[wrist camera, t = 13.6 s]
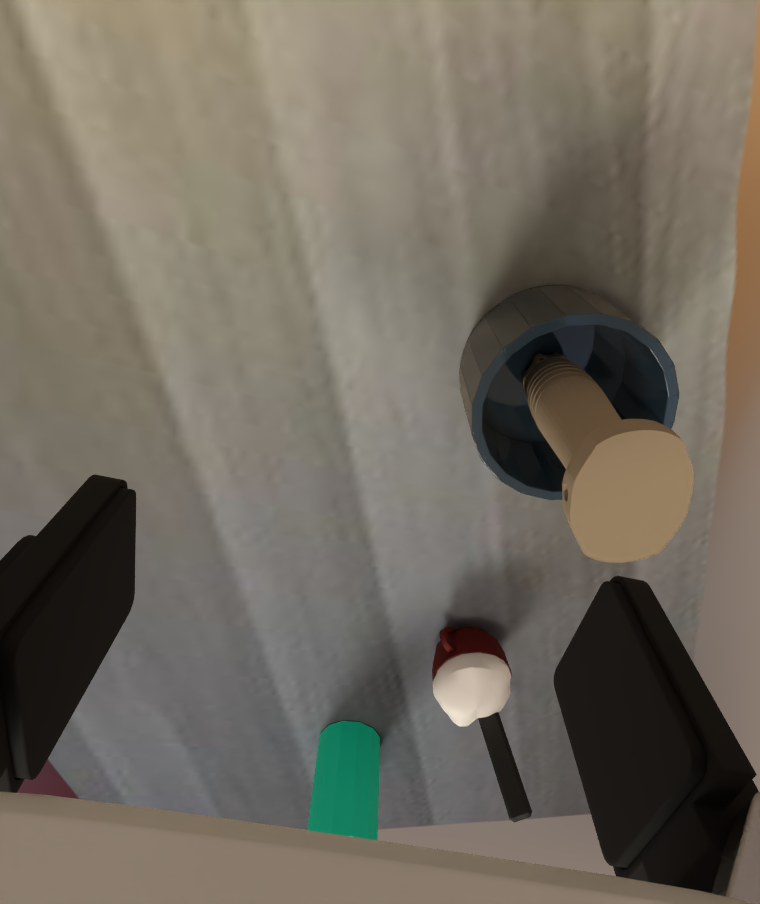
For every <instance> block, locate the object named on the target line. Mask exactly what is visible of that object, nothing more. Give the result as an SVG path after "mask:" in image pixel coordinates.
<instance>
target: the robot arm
mask: <svg viewBox="0 0 760 904" xmlns="http://www.w3.org/2000/svg"><path fill="white" fill-rule="evenodd" d="M135 533H136V493H135V491H134V490H131V489H128V488H127V483H126V481H124V480H120V479H115V478H110V477H105V476H100V475H92V476H91V477H89V478H88V479H87V481H86V482H85V483H84V484H83V485H82V486H81V487H80V488H79V489H78V491H77V492H76V493H75V494H74V495H73V496H72V497H71V498H70V499H69V501H68V502H67V503H66V504H65V505H64V506H63V507H62V508H61V509H60V511H59V512H58V513H57V514H56V515H55V516H54V517H53V518H52V519H51V520H50V522H49V523H48V524H47V525H46V526H45V527H44V528H43V529H42V530H41V532H40V533H39V534H38V535H37V536H32V535H28V536H26V537H23V538H22V539H21V540H20V541H19V542H17V543H16V544H15V545H14V547H13V548H12V549H11V550H10V551H9V552H8V553H7V554H6V555H5V556H4V557H3V558H2V559H1V560H0V904H760V792H759V791H758V789H757V787H756V786H755V784H754V782H753V780H752V779H753V778H754V777H755V775H756V773H755V771H754V769H753V768H752V766H751V764H750V762H749V760H748V759H747V757H746V755H745V753H744V752H743V750H742V748H741V747H740V745H739V743H738V741H737V739H736V738H735V736H734V734H733V732H732V730H731V729H730V727H729V725H728V723H727V722H726V720H725V718H724V716H723V715H722V713H721V711H720V709H719V708H718V706H717V704H716V702H715V701H714V699H713V697H712V695H711V693H710V692H709V690H708V688H707V687H706V685H705V683H704V681H703V680H702V678H701V676H700V674H699V672H698V671H697V669H696V667H695V665H694V664H693V662H692V660H691V658H690V656H689V655H688V653H687V651H686V649H685V648H684V646H683V644H682V642H681V641H680V639H679V637H678V635H677V634H676V632H675V630H674V628H673V627H672V625H671V623H670V621H669V619H668V618H667V616H666V614H665V612H664V611H663V609H662V607H661V605H660V604H659V602H658V600H657V598H656V597H655V595H654V593H653V591H652V590H651V588H650V586H649V585H648V584H647V583H646V582H644V581H641V580H636V579H631V578H626V577H621V576H615V577H614V578H612V579H611V580H610V582H609V581H606V582H604V583H603V584H602V585H601V587H600V588H599V590H598V592H597V594H596V596H595V598H594V600H593V601H592V603H591V605H590V607H589V609H588V611H587V612H586V614H585V616H584V618H583V620H582V622H581V624H580V625H579V627H578V629H577V631H576V633H575V635H574V637H573V638H572V640H571V642H570V644H569V646H568V648H567V649H566V651H565V653H564V655H563V657H562V659H561V661H560V662H559V664H558V666H557V668H556V670H555V674H554V687H555V691H556V695H557V698H558V701H559V705H560V708H561V712H562V715H563V719H564V722H565V726H566V729H567V732H568V736H569V739H570V743H571V746H572V750H573V753H574V757H575V760H576V764H577V767H578V770H579V774H580V777H581V781H582V784H583V788H584V791H585V795H586V798H587V802H588V805H589V808H590V812H591V815H592V819H593V822H594V826H595V829H596V833H597V836H598V840H599V843H600V846H601V850H602V853H603V856H604V859H605V860H606V862H607V863H608V864H609V865H611V866H613V867H614V871H615V874H616V876H610V875H604V874H597V873H591V872H585V871H577V870H571V869H564V868H558V867H552V866H545V865H538V864H532V863H526V862H519V861H512V860H506V859H499V858H493V857H486V856H479V855H473V854H466V853H459V852H452V851H445V850H439V849H432V848H426V847H419V846H412V845H405V844H398V843H392V842H385V841H378V840H371V839H364V838H357V837H351V836H344V835H337V834H330V833H323V832H316V831H309V830H303V829H296V828H288V827H281V826H274V825H267V824H260V823H253V822H246V821H239V820H232V819H225V818H218V817H210V816H203V815H196V814H189V813H182V812H175V811H168V810H161V809H154V808H147V807H139V806H130V805H122V804H114V803H106V802H98V801H90V800H81V799H73V798H65V797H56V796H49V795H39V794H25V793H17V791H18V790H19V788H20V786H21V784H22V783H23V781H24V779H30V780H33V779H35V778H36V777H37V775H38V774H39V773H40V771H41V769H42V768H43V766H44V764H45V763H46V761H47V759H48V757H49V755H50V754H51V752H52V750H53V748H54V746H55V745H56V743H57V741H58V739H59V738H60V736H61V734H62V732H63V730H64V729H65V727H66V725H67V723H68V721H69V720H70V718H71V716H72V714H73V713H74V711H75V709H76V707H77V705H78V704H79V702H80V700H81V698H82V696H83V695H84V693H85V691H86V689H87V688H88V686H89V684H90V682H91V680H92V679H93V677H94V675H95V673H96V671H97V670H98V668H99V666H100V664H101V663H102V661H103V659H104V657H105V655H106V654H107V652H108V650H109V648H110V646H111V645H112V643H113V641H114V639H115V638H116V636H117V634H118V632H119V630H120V629H121V627H122V625H123V623H124V621H125V620H126V618H127V616H128V614H129V612H130V610H131V607H132V604H133V600H134V593H135Z"/></svg>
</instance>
